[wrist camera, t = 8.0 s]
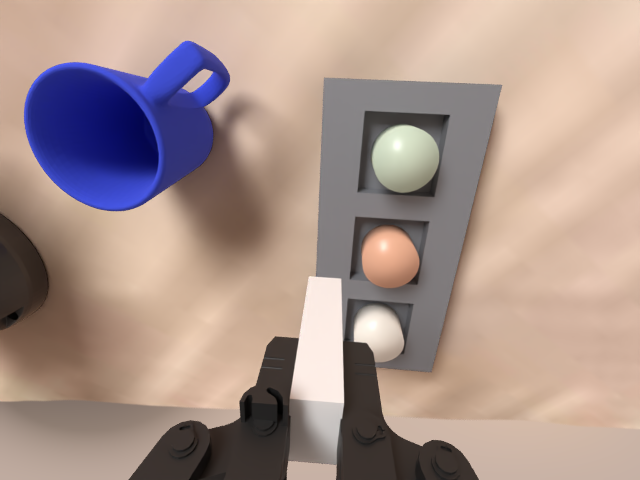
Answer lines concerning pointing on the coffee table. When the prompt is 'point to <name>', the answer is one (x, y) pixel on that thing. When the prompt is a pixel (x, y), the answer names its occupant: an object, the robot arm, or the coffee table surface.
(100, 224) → the coffee table surface
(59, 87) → the mug
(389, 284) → the button terracotta
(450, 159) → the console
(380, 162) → the button sage
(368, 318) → the button ivory
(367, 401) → the robot arm
